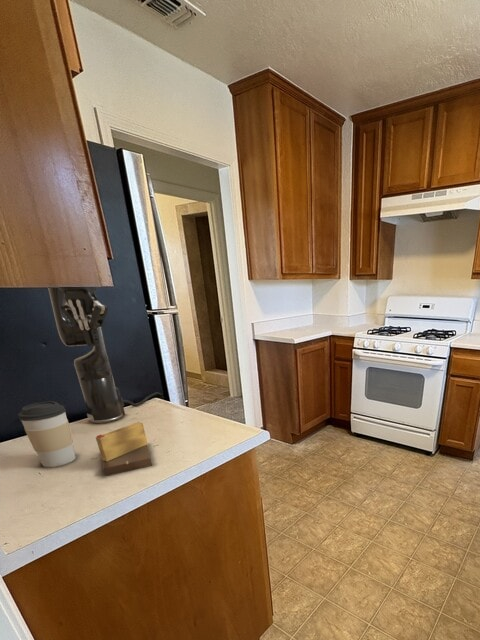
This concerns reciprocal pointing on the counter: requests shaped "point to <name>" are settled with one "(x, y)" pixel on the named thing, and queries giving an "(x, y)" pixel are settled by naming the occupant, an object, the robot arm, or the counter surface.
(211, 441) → the counter surface
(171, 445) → the counter surface
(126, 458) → the brown square board
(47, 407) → the coffee cup
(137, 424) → the wooden toy block
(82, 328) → the robot arm
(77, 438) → the counter surface
